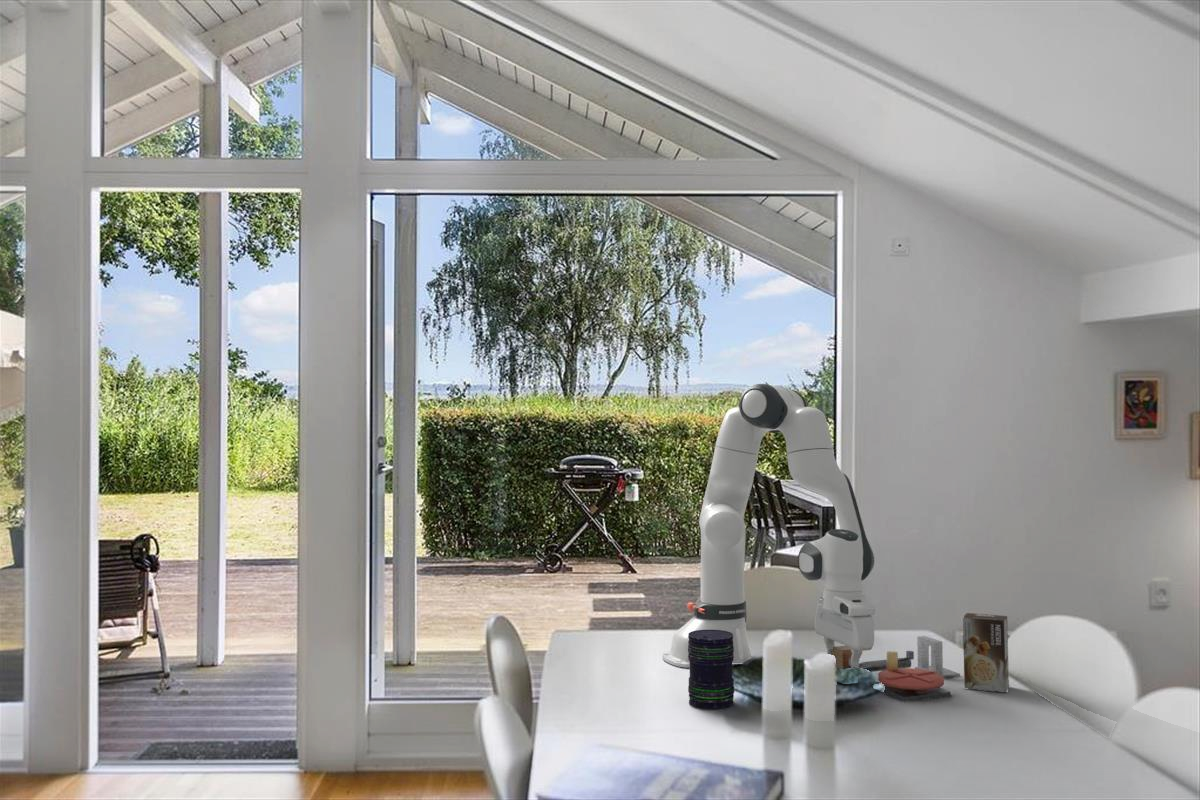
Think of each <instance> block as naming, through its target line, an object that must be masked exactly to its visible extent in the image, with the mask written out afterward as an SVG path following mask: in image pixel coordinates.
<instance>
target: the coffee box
mask: <svg viewBox="0 0 1200 800" xmlns="http://www.w3.org/2000/svg"><path fill="white" fill-rule="evenodd" d="M1008 626H1009V625H1008V616H1007V615H998V614H997V615H996V614H989V613H988V614H987V613H985V614H984V613H970V612H966V613H965V614H964V616H963V618H962V633H963V635H962V636H963V637H962V639H963V643H962V644H963V676H964V679H963V680H964V682H963V683H964V689H965V688H968V689H967V690H975V689H979V690H978V691H985V690H989V691H988V692H995V691H998V692H997V693H1004V692H1006V693H1007V692H1008V690H1009V689H1008V688H1010V678H1009V677H1010V676H1009V640H1008V639H1009V638H1008V637H1009V636H1008V635H1009V634H1008V633H1009V632H1008V629H1009V627H1008ZM999 691H1000V692H999Z"/></svg>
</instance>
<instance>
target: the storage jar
mask: <svg viewBox="0 0 1200 800" xmlns="http://www.w3.org/2000/svg"><path fill="white" fill-rule="evenodd" d="M688 638H689V640H688V652H689V653H688V659H689V661H690V668H689V677H688V687H687V689H688V690H687V691H688V692H687V693H688V698H689V699H688V704H689V706H690V707H692V708H694V709H698V710H703V711H722V710H727V709H730V708H732V707H734V705H735V701H734V697H735V696H734V695H735V685H734V684H735V682H734V681H735V680H734V677H733V666H732V662H733V658H734V656H733V652H734V646H733V634H732V633H731V632H728V631H723V630H697V631H692V632H690V633H688Z"/></svg>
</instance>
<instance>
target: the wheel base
mask: <svg viewBox="0 0 1200 800" xmlns="http://www.w3.org/2000/svg"><path fill="white" fill-rule="evenodd" d="M884 686H885V690H884V692H883V694H885V695H887V696H890V697H892V698H894V699H897V700H899V701H901V702H903V701H904V702H903V703H906V701H908V702H915V700H916V701H923V700H924V699H925V700H931V698H933V699H940V697H941V698H947V697H951V696H952V694H951V693H952V692H951V691H950V690H948V689H944V688H943V687H939V688H935V689H927V690H911V689H901V688H895V687H890V686H887V685H884ZM925 700H924V701H925Z"/></svg>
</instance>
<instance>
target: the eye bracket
mask: <svg viewBox="0 0 1200 800" xmlns="http://www.w3.org/2000/svg"><path fill="white" fill-rule="evenodd" d="M929 648H930V650H929ZM943 649H944V648H943V641H942V640H939V639H935V638H932V637H929V636H926V635H921V636H917V666H915V667H914V669H921V670H927V671H929V670H932V671H935V673H938V674H940V675H942V676H943V677H944V679H947V677H949V678H957V676H958V677H961V674H960V673H959V672H956V671H954V670H950V669H947V668H945V667H943V664H944V663H943V662H944V661H943V658H944V657H943V653H944V651H943ZM930 660H931V661H930ZM930 664H931V665H930Z"/></svg>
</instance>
